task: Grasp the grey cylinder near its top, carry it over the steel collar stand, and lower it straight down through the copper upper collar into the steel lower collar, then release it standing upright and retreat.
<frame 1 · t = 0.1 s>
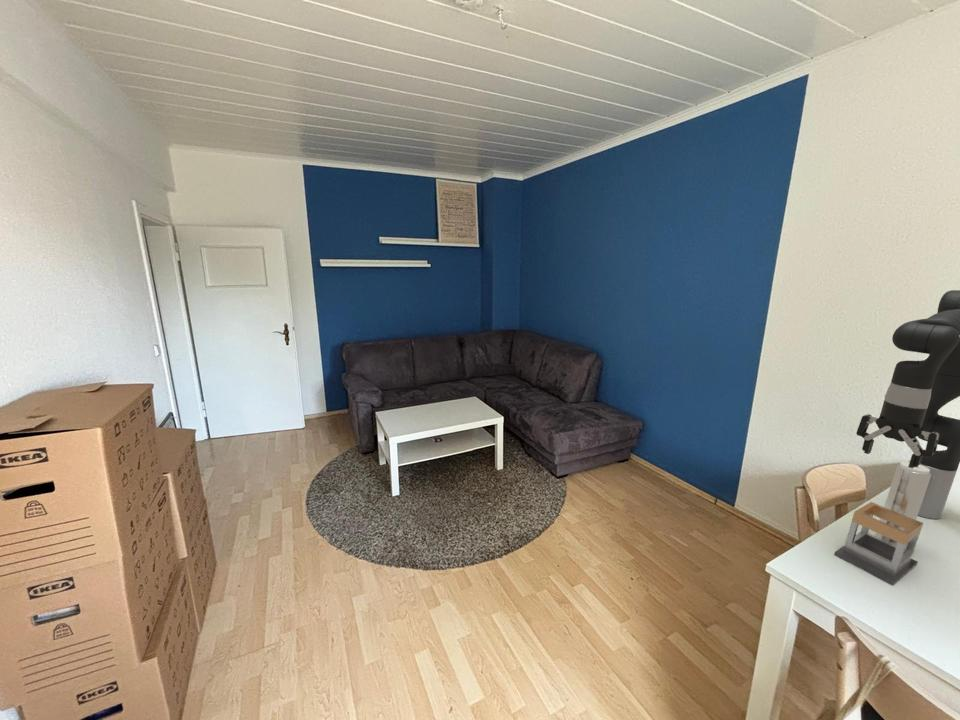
hand: (888, 459, 102), 29 cm above the table, fingers open, 8 cm apart
grey cylinder: (890, 542, 114), on the table
collar stand: (874, 559, 107), on the table
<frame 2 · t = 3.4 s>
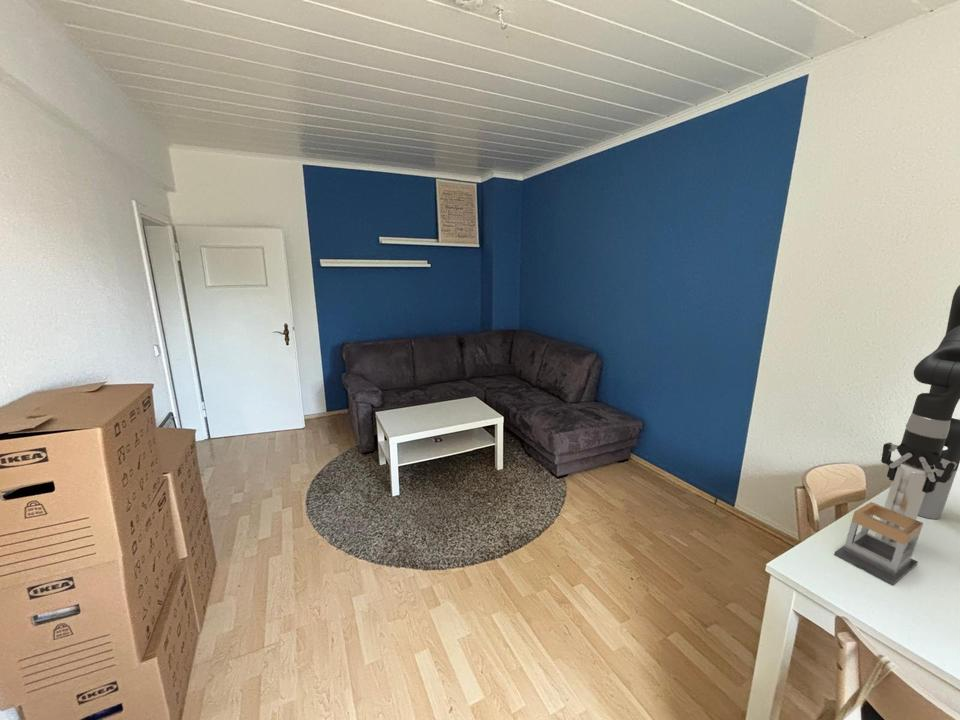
hand: (908, 485, 110), 19 cm above the table, fingers closed on grey cylinder, 6 cm apart
grey cylinder: (890, 542, 114), on the table, touching gripper
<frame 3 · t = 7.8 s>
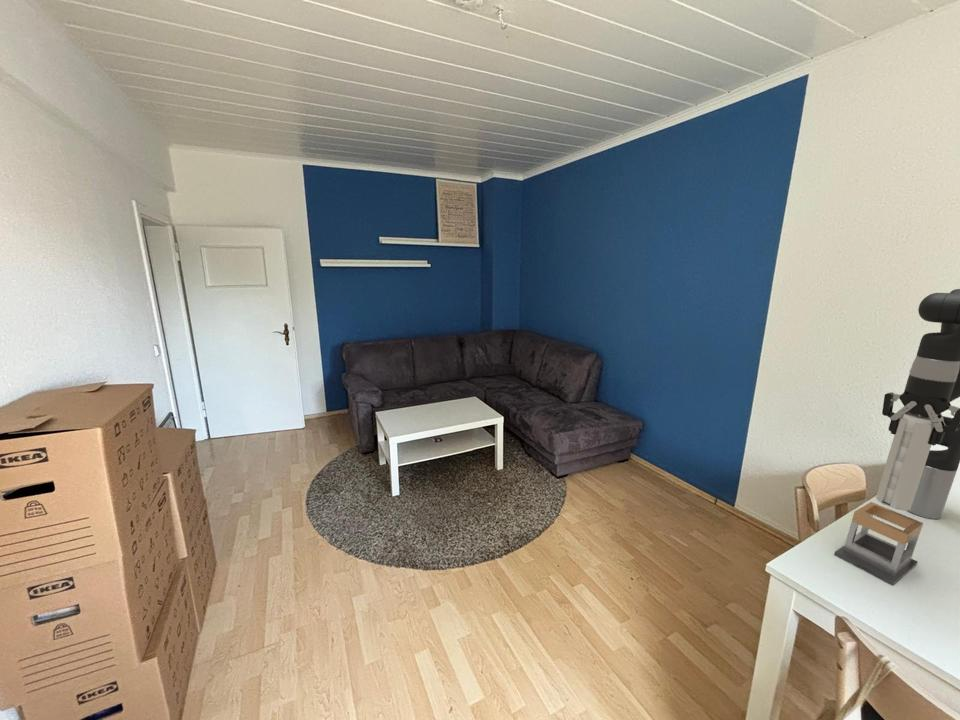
hand: (912, 438, 98), 36 cm above the table, fingers closed on grey cylinder, 6 cm apart
grey cylinder: (892, 503, 103), point 18 cm above the table, touching gripper
when the fingers open (21 cm above the table, at t = 12.2 s): grey cylinder stays where it is, resting on collar stand.
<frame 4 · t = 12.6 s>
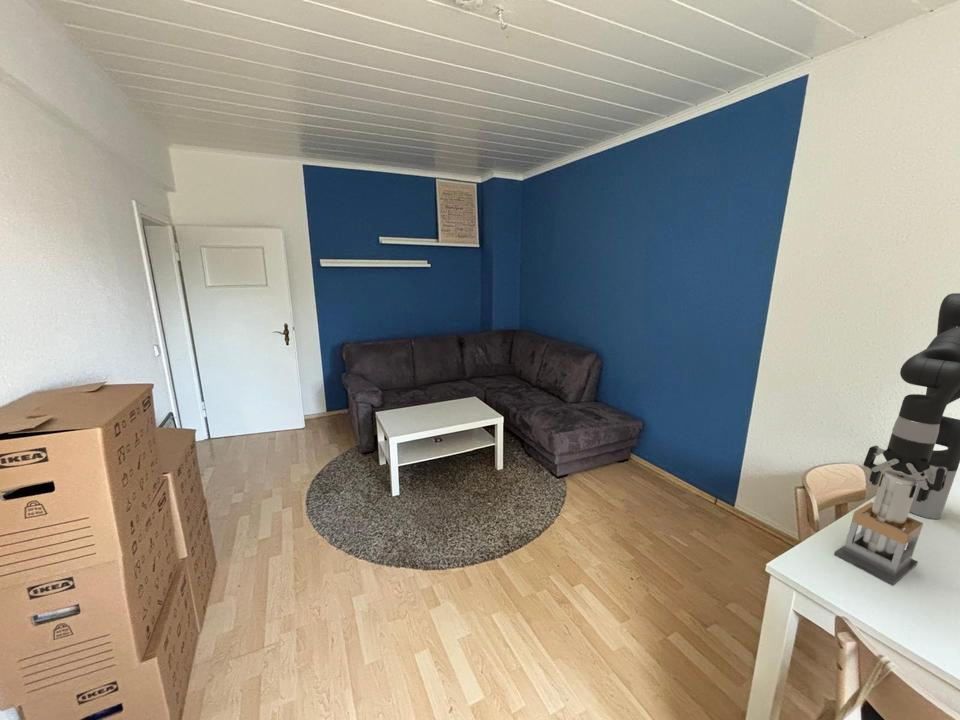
hand: (895, 492, 102), 21 cm above the table, fingers open, 8 cm apart
grey cylinder: (875, 556, 107), point 1 cm above the table, touching collar stand
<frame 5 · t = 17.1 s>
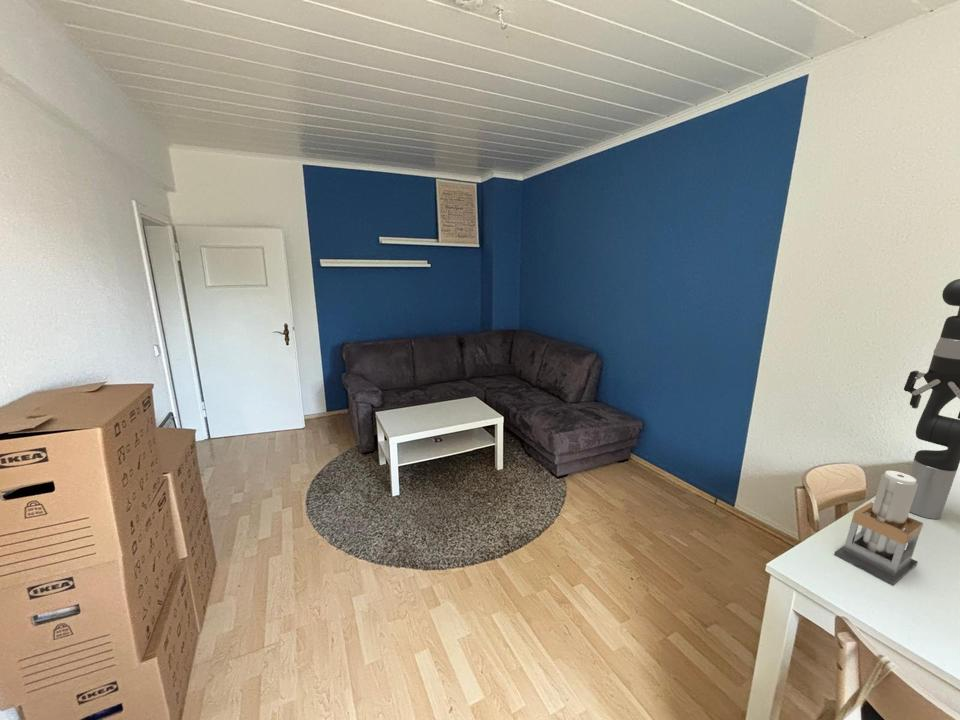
hand: (936, 412, 106), 40 cm above the table, fingers open, 8 cm apart
nothing on the table moved.
at the end: grey cylinder 0.2 cm off-centre on the collar stand, point 0.8 cm above the collar stand's base; grey cylinder tilted 0°; the gripper is holding nothing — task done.
